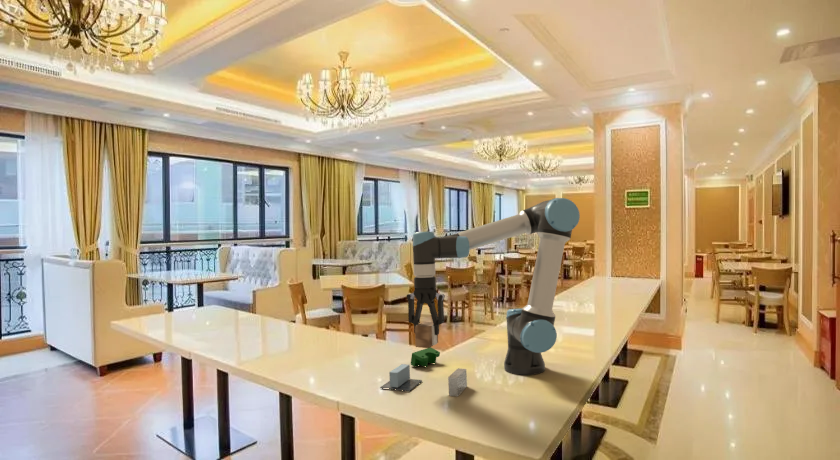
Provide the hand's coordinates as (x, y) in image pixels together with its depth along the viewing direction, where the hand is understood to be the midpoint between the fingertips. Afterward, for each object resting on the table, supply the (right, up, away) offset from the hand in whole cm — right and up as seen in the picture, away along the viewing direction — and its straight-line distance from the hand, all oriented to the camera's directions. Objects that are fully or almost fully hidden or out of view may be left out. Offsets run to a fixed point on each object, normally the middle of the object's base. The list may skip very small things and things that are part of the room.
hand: (427, 343), depth 155 cm
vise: (-2, -15, 0) cm, 15 cm away
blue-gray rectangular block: (-9, -16, +4) cm, 18 cm away
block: (0, 0, 0) cm, 0 cm away
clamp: (0, -16, +27) cm, 31 cm away
